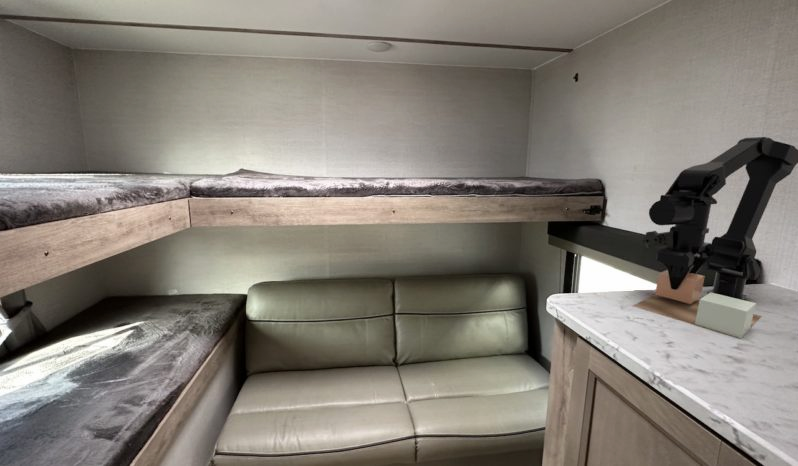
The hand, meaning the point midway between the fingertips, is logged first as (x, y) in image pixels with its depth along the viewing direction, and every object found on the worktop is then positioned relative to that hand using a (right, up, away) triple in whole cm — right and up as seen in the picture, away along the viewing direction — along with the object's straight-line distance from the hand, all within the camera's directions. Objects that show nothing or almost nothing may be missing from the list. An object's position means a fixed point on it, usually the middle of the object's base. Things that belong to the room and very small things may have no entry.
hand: (679, 286), depth 84 cm
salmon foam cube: (0, -2, 0) cm, 2 cm away
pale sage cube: (-2, -6, -13) cm, 15 cm away
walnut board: (-1, -6, -5) cm, 8 cm away
